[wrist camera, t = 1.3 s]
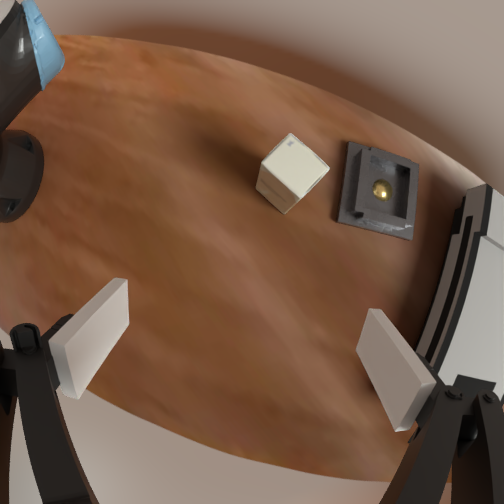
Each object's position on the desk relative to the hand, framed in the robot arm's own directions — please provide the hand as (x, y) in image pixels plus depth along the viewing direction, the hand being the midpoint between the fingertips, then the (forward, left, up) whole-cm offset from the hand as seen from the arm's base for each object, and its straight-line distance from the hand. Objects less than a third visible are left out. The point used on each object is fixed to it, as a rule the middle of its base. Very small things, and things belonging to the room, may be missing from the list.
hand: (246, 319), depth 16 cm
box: (+2, +12, -22) cm, 25 cm away
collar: (+15, +15, -21) cm, 30 cm away
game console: (+36, +1, -22) cm, 42 cm away
